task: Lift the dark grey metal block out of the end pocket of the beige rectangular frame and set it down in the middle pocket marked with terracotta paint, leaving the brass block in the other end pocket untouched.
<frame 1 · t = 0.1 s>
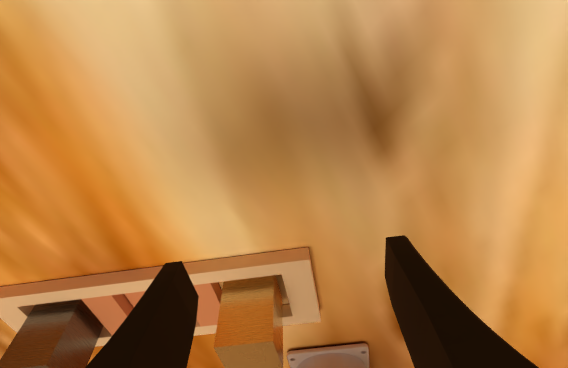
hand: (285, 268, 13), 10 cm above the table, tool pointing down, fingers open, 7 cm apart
beige rectangular frame: (161, 299, 30), on the table
brass block: (254, 287, 29), resting in beige rectangular frame
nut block: (74, 309, 31), resting in beige rectangular frame
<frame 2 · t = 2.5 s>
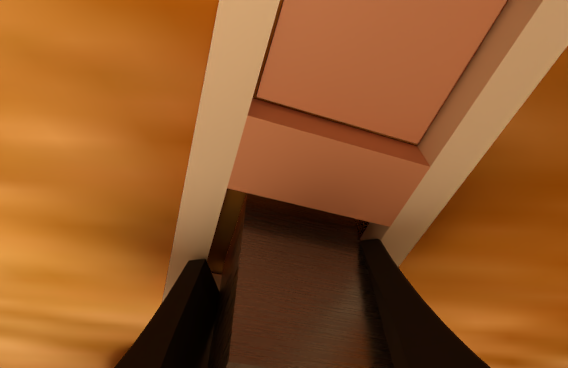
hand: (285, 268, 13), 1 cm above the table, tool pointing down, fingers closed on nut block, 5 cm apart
beige rectangular frame: (379, 31, 9), on the table
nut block: (285, 239, 14), resting in beige rectangular frame, touching gripper
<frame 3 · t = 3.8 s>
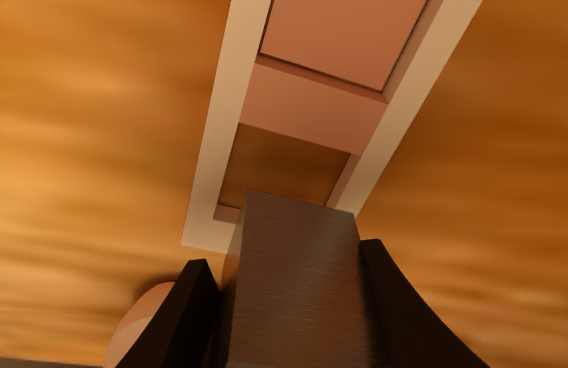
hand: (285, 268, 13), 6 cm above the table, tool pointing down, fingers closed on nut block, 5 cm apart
beige rectangular frame: (348, 2, 13), on the table
water bottle: (185, 303, 24), on the table
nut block: (285, 239, 14), point 4 cm above the table, touching gripper
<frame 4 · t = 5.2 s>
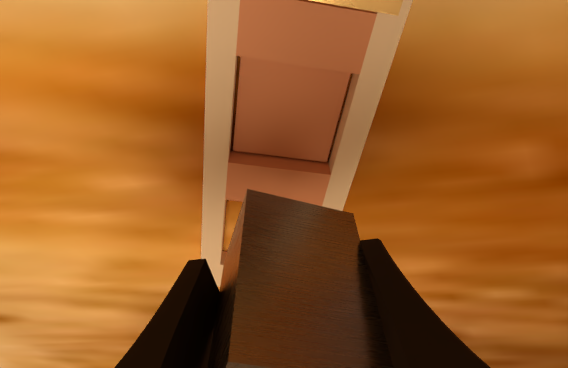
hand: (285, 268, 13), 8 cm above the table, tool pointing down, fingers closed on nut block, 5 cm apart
beige rectangular frame: (288, 111, 18), on the table
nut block: (284, 239, 14), point 7 cm above the table, touching gripper
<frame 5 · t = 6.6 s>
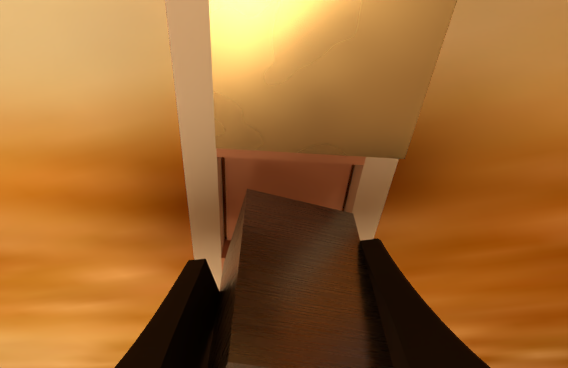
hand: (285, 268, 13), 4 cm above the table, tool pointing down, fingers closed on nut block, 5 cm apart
beige rectangular frame: (284, 198, 16), on the table
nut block: (284, 239, 14), point 3 cm above the table, touching gripper
when the fingers open (2 cm above the table, at t = 7.9 s): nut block stays where it is, resting on beige rectangular frame.
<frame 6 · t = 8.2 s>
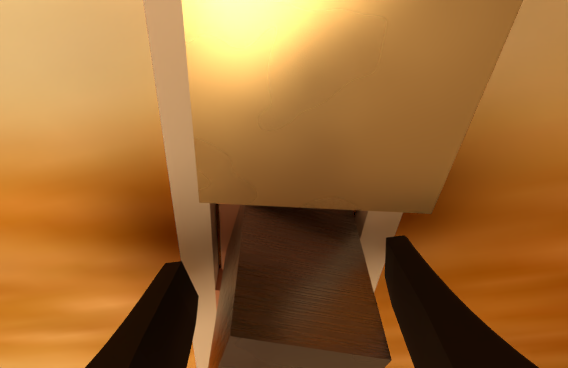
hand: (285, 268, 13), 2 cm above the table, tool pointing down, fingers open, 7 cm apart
beige rectangular frame: (284, 225, 14), on the table
brass block: (307, 10, 10), resting in beige rectangular frame
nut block: (284, 229, 14), resting on beige rectangular frame
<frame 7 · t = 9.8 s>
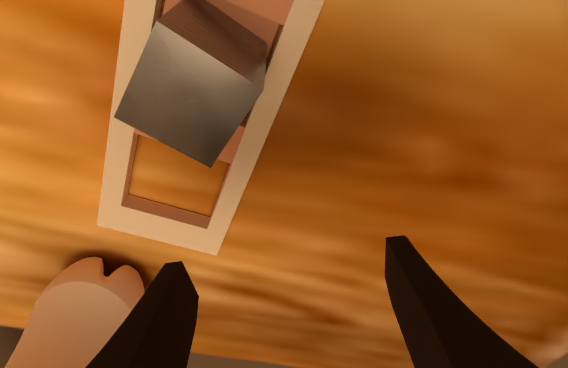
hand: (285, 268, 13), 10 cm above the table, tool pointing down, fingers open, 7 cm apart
beige rectangular frame: (212, 52, 18), on the table
water bottle: (109, 276, 28), on the table
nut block: (211, 54, 18), resting on beige rectangular frame
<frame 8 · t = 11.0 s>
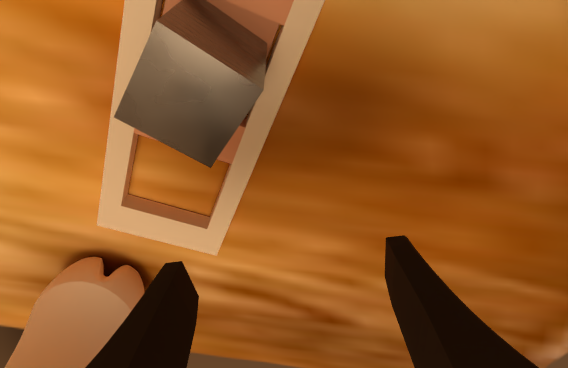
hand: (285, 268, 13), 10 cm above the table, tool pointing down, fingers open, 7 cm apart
beige rectangular frame: (212, 52, 18), on the table
water bottle: (109, 276, 28), on the table
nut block: (211, 54, 18), resting on beige rectangular frame
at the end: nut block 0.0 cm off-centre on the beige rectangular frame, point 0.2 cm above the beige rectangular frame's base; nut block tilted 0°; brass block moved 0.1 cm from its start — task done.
